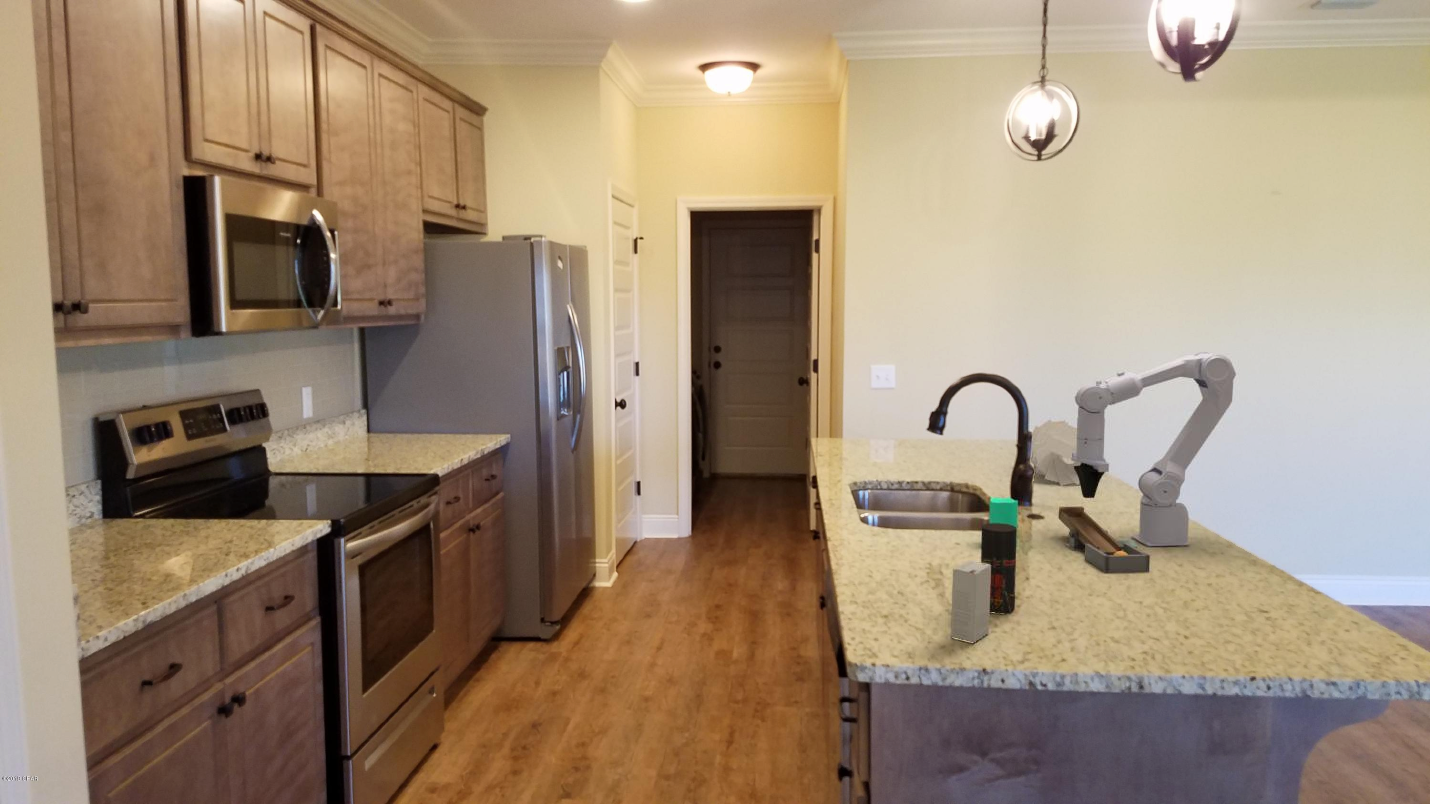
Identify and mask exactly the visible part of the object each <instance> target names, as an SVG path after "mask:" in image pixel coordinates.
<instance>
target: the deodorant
mask: <svg viewBox="0 0 1430 804" xmlns="http://www.w3.org/2000/svg"><path fill="white" fill-rule="evenodd" d="M1016 537H1017V538H1018V527H1017V528H1016V527H1015V526H1013V525H1009V524H1002V523H989V522H988V523H985V524H982V525H981V545H980V547H981V549H980V550H981V553H980V555H981V556H980V557H981V558H980V563H985V564H990V565H991V582H990V612H995V613H1010V614H1012V613H1011V612H1013V611H1014V610H1016V580H1017V579H1016V578H1017V577H1016V576H1017V574H1016V570H1017V547H1016ZM1014 612H1015V611H1014ZM1014 612H1013V613H1014Z"/></svg>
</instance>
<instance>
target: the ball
mask: <svg viewBox="0 0 1430 804" xmlns="http://www.w3.org/2000/svg"><path fill="white" fill-rule="evenodd" d="M1114 555H1128V554H1127V553H1126V552H1123V550H1122V551H1118V552H1116V553H1115V554H1114Z"/></svg>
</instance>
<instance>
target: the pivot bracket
mask: <svg viewBox="0 0 1430 804" xmlns="http://www.w3.org/2000/svg"><path fill="white" fill-rule="evenodd" d="M1105 531H1106V532H1107V533H1108V534H1109V531H1108V530H1105ZM1068 537H1069V538H1068V539H1069V541H1068V542H1069V543H1064V546H1066V548H1068V549H1070V550H1072V551H1073V552H1075V551H1078V552H1079V551H1085V545H1084V543H1083V542H1082V541H1081V540H1080V539H1079V538H1078V537H1077V532H1076V531H1074V530H1070V529H1069V531H1068Z"/></svg>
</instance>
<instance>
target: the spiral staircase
mask: <svg viewBox="0 0 1430 804" xmlns="http://www.w3.org/2000/svg"><path fill="white" fill-rule="evenodd" d="M1032 434H1033V442H1032V457H1031V462H1030V463H1031V464H1032V465H1033V466H1034V468H1033V469H1038V470H1039V471H1038V474H1040V475H1042V476H1045V477H1044V480H1048V481H1051V482H1054V481H1055V482H1056V483H1059V486H1060V487H1062V486H1066V485H1070V484H1074V483H1075V484H1076V485H1077V486H1078V485H1080V482H1079V478H1078V476H1077V473H1076V471H1075V470H1074V466H1080V465H1081V463H1080V462H1075V461H1072V460H1071V457H1072V452H1076V449H1077V427H1074V426H1071V425H1069V422H1066V420H1058V421H1052V420H1051V419H1048V420H1047V421H1046V422H1044V423H1042V424H1041V425H1039V426H1037V425H1035V426H1034V429H1033V431H1032V432H1031V435H1032ZM1055 482H1054V483H1055Z"/></svg>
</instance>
